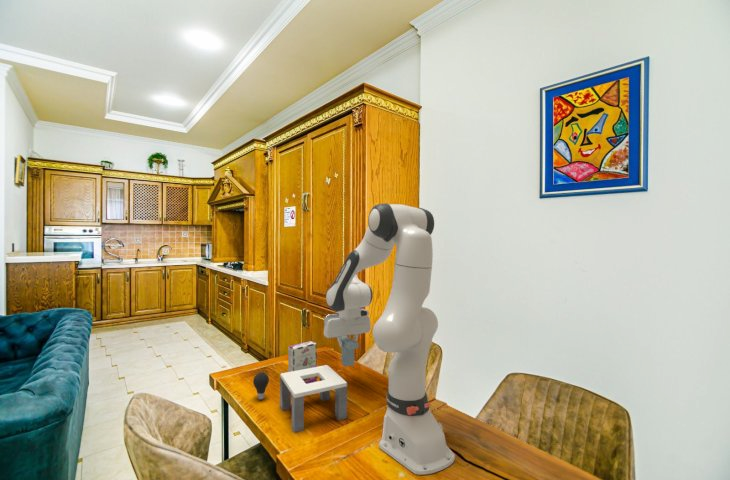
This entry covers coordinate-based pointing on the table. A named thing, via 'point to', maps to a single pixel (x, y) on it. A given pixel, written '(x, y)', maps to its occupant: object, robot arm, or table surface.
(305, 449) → the table surface
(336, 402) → the cutout shelf
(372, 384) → the table surface
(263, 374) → the light bulb
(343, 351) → the peg
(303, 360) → the candy bar box
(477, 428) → the table surface
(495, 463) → the table surface
